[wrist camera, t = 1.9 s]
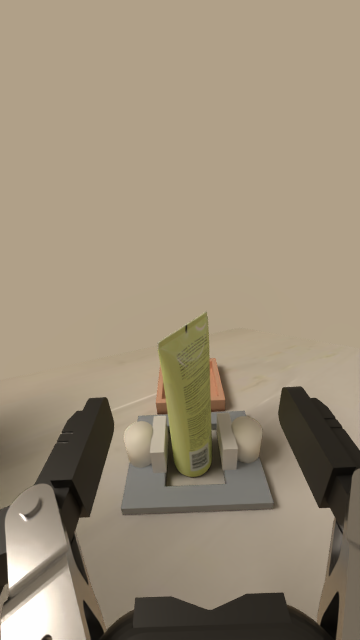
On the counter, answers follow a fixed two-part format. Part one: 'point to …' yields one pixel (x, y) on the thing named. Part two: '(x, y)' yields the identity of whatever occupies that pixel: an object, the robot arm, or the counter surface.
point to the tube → (188, 395)
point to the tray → (215, 391)
